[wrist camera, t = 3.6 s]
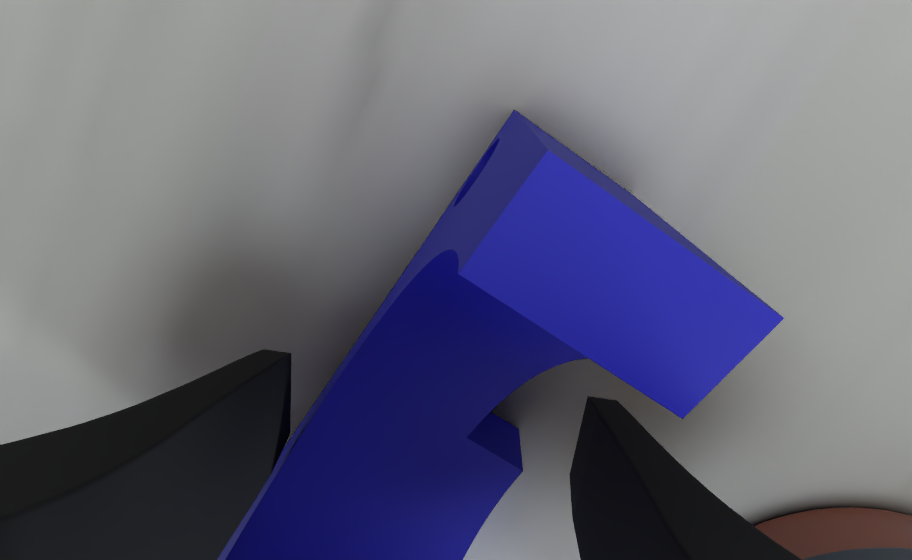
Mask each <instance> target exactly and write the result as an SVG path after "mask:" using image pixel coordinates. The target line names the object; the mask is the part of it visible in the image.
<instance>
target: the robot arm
mask: <svg viewBox="0 0 912 560" xmlns="http://www.w3.org/2000/svg"><path fill="white" fill-rule="evenodd" d="M290 411H291V353H286V352H279V351H272V350H265V349H264V350H261V351H258V352H255V353H253V354H251V355H248V356H246V357H244V358H241V359H239V360H237V361H235V362H233V363H231V364H228V365H226V366H224V367H222V368H220V369H218V370H216V371H213V372H211V373H209V374H207V375H205V376H203V377H201V378H198V379H196V380H194V381H192V382H190V383H187V384H185V385H183V386H180V387H178V388H176V389H173V390H171V391H168V392H166V393H164V394H161V395H159V396H156V397H154V398H152V399H149V400H147V401H144V402H142V403H140V404H137V405H134V406H132V407H129V408H126V409H124V410H121V411H118V412H115V413H112V414H109V415H106V416H103V417H100V418H97V419H94V420H91V421H88V422H85V423H82V424H78V425H75V426H72V427H68V428H64V429H61V430H57V431H53V432H49V433H45V434H42V435H38V436H34V437H30V438H26V439H23V440H19V441H15V442H11V443H7V444H2V445H0V560H217V559H218V558H219V556H220V554H221V553H222V551H223V550H224V548H225V547H226V545H227V543H228V542H229V540H230V539H231V537H232V535H233V534H234V532H235V531H236V529H237V528H238V526H239V524H240V523H241V521H242V520H243V518H244V517H245V515H246V513H247V512H248V510H249V509H250V507H251V506H252V504H253V502H254V501H255V499H256V498H257V496H258V494H259V493H260V491H261V490H262V488H263V486H264V485H265V483H266V482H267V480H268V478H269V477H270V475H271V473H272V472H273V469H274V467H275V465H276V463H277V461H278V459H279V457H280V455H281V452H282V450H283V448H284V446H285V443H286V441H287V439H288V436H289V434H290ZM570 487H571V503H572V515H573V522H574V528H575V533H576V538H577V543H578V548H579V553H580V558H581V560H802V559H800V558H799V557H797V556H796V555H794V554H793V553H791V552H790V551H788V550H787V549H785V548H784V547H782V546H781V545H779V544H778V543H776V542H775V541H774V540H772V539H771V538H769V537H768V536H766V535H765V534H764V533H762V532H761V531H760V530H758V529H757V528H756V527H754V526H753V525H752V524H750V523H749V522H748V521H746V520H745V519H744V518H743V517H741V516H740V515H739V514H737V513H736V512H735V511H733V510H732V509H731V508H729V507H728V506H727V505H726V504H725V503H723V502H722V501H721V500H720V499H718V498H717V497H716V496H715V495H714V494H713V493H711V492H710V491H709V490H708V489H707V488H706V487H705V486H704V485H702V484H701V483H700V482H699V481H698V480H697V479H696V478H695V477H693V476H692V475H691V474H690V473H689V472H688V471H687V470H686V469H685V468H684V467H683V466H682V465H680V464H679V463H678V462H677V461H676V460H675V459H674V458H673V457H672V456H671V455H670V454H669V453H668V452H667V451H666V450H665V449H664V448H663V447H662V446H661V445H660V444H659V443H658V442H657V441H656V440H655V439H654V438H653V437H652V436H651V435H650V434H649V433H648V432H647V431H646V430H645V428H644V427H643V426H642V425H641V424H640V423H639V422H638V421H637V420H636V419H635V418H634V417H633V416H632V415H631V414H630V413H629V412H628V411H627V410H626V409H625V408H624V407H623V406H622V405H621V404H620V403H619V402H618V401H616V400H609V399H602V398H595V397H589V396H588V398H587V402H586V406H585V411H584V415H583V419H582V424H581V428H580V432H579V437H578V441H577V445H576V450H575V454H574V458H573V463H572V467H571V472H570Z"/></svg>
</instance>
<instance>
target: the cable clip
mask: <svg viewBox="0 0 912 560" xmlns="http://www.w3.org/2000/svg"><path fill="white" fill-rule="evenodd" d="M783 319H784V318H783V317H782V316H781V315H779V314H778V313H777V312H776V311H775V310H773V309H772V308H771V307H770V306H768V305H767V304H766V303H765V302H763V301H762V300H761V299H760V298H759V297H757V296H756V295H755V294H754V293H752V292H751V291H750V290H749V289H748V288H746V287H745V286H744V285H743V284H741V283H740V282H739V281H738V280H736V279H735V278H734V277H733V276H732V275H730V274H729V273H728V272H727V271H725V270H724V269H723V268H722V267H721V266H719V265H718V264H717V263H716V262H714V261H713V260H712V259H711V258H709V257H708V256H707V255H706V254H705V253H703V252H702V251H701V250H700V249H698V248H697V247H696V246H695V245H694V244H692V243H691V242H690V241H689V240H687V239H686V238H685V237H684V236H682V235H681V234H680V233H679V232H678V231H676V230H675V229H674V228H673V227H671V226H670V225H669V224H668V223H667V222H665V221H664V220H663V219H662V218H660V217H659V216H658V215H657V214H655V213H654V212H653V211H652V210H651V209H649V208H648V207H647V206H646V205H644V204H643V203H642V202H641V201H640V200H638V199H637V198H636V197H635V196H633V195H632V194H631V193H629V192H628V191H627V190H625V189H624V188H622V187H621V186H620V185H618V184H617V183H615V182H614V181H613V180H611V179H610V178H608V177H607V176H606V175H604V174H603V173H602V172H600V171H599V170H597V169H596V168H595V167H593V166H592V165H590V164H589V163H588V162H586V161H585V160H583V159H582V158H581V157H579V156H578V155H577V154H575V153H574V152H572V151H571V150H570V149H568V148H567V147H565V146H564V145H563V144H561V143H560V142H558V141H557V140H556V139H554V138H553V137H552V136H550V135H549V134H547V133H546V132H545V131H543V130H542V129H540V128H539V127H538V126H536V125H535V124H533V123H532V122H531V121H529V120H528V119H527V118H525V117H524V116H522V115H521V114H520V113H518V112H517V111H515V110H514V111H513V112H512V114H511V115H510V117H509V118H508V120H507V121H506V122H505V124H504V125H503V127H502V128H501V130H500V131H499V133H498V134H497V136H496V137H495V139H494V140H493V142H492V143H491V144H490V146H489V147H488V149H487V150H486V152H485V153H484V155H483V156H482V158H481V159H480V161H479V162H478V164H477V165H476V167H475V168H474V169H473V171H472V172H471V174H470V175H469V177H468V178H467V180H466V181H465V183H464V184H463V186H462V187H461V189H460V190H459V191H458V193H457V194H456V196H455V197H454V199H453V200H452V202H451V203H450V205H449V206H448V208H447V209H446V211H445V212H444V214H443V215H442V216H441V218H440V219H439V221H438V222H437V224H436V225H435V227H434V228H433V230H432V231H431V233H430V234H429V236H428V237H427V239H426V240H425V241H424V243H423V244H422V246H421V247H420V249H419V250H418V252H417V253H416V255H415V256H414V258H413V259H412V261H411V262H410V263H409V265H408V266H407V268H406V269H405V271H404V272H403V274H402V275H401V277H400V278H399V280H398V281H397V283H396V284H395V286H394V287H393V288H392V290H391V291H390V293H389V294H388V296H387V297H386V299H385V300H384V302H383V303H382V305H381V306H380V308H379V309H378V310H377V312H376V313H375V315H374V316H373V318H372V319H371V321H370V322H369V324H368V325H367V327H366V328H365V330H364V331H363V333H362V334H361V335H360V337H359V338H358V340H357V341H356V343H355V344H354V346H353V347H352V349H351V350H350V352H349V353H348V355H347V356H346V358H345V359H344V360H343V362H342V363H341V365H340V366H339V368H338V369H337V371H336V372H335V374H334V375H333V377H332V378H331V380H330V381H329V382H328V384H327V385H326V387H325V388H324V390H323V391H322V393H321V394H320V396H319V397H318V399H317V400H316V402H315V403H314V405H313V406H312V407H311V409H310V410H309V412H308V413H307V415H306V416H305V418H304V419H303V421H302V422H301V424H300V425H299V427H298V428H297V429H296V431H295V432H294V434H293V435H292V437H291V438H290V440H289V441H288V443H287V444H286V446H285V447H284V449H283V450H282V452H281V455H280V457H279V459H278V461H277V463H276V465H275V467H274V469H273V472H272V473H271V475H270V477H269V478H268V480H267V482H266V483H265V485H264V486H263V488H262V490H261V491H260V493H259V494H258V496H257V498H256V499H255V501H254V502H253V504H252V506H251V507H250V509H249V510H248V512H247V513H246V515H245V517H244V518H243V520H242V521H241V523H240V524H239V526H238V528H237V529H236V531H235V532H234V534H233V535H232V537H231V539H230V540H229V542H228V543H227V545H226V547H225V548H224V550H223V551H222V553H221V554H220V556H219V558H218V559H217V560H463V558H464V556H465V554H466V552H467V550H468V548H469V547H470V545H471V543H472V542H473V540H474V538H475V536H476V535H477V533H478V531H479V530H480V528H481V526H482V525H483V523H484V522H485V520H486V519H487V517H488V516H489V514H490V513H491V511H492V510H493V508H494V507H495V506H496V504H497V503H498V501H499V500H500V499H501V497H502V496H503V494H504V493H505V492H506V491H507V489H508V488H509V487H510V486H511V484H512V483H513V482H514V481H515V480H516V478H517V477H518V476H519V475H520V474H521V473H522V472H523V467H522V456H521V446H520V436H519V429H518V428H516V427H514V426H513V425H511V424H509V423H508V422H506V421H504V420H503V419H501V418H500V417H498V416H496V415H495V414H493V413H491V411H492V410H493V409H494V408H495V407H496V406H497V405H498V404H499V403H500V402H501V401H502V400H504V399H505V398H506V397H507V396H508V395H509V394H511V393H512V392H513V391H514V390H516V389H517V388H518V387H520V386H521V385H523V384H524V383H525V382H527V381H528V380H530V379H532V378H533V377H535V376H537V375H538V374H540V373H542V372H544V371H546V370H548V369H550V368H552V367H554V366H557V365H560V364H563V363H566V362H569V361H573V360H579V359H585V358H589V359H591V360H592V361H594V362H595V363H597V364H598V365H600V366H602V367H603V368H605V369H606V370H608V371H609V372H611V373H612V374H614V375H615V376H617V377H619V378H620V379H622V380H623V381H625V382H626V383H628V384H629V385H631V386H632V387H634V388H636V389H637V390H639V391H640V392H642V393H643V394H645V395H646V396H648V397H649V398H651V399H653V400H654V401H656V402H657V403H659V404H660V405H662V406H663V407H665V408H666V409H668V410H670V411H671V412H673V413H674V414H676V415H677V416H679V417H680V418H682V419H683V418H684V417H685V416H686V415H687V414H688V413H689V412H690V411H691V410H692V409H693V408H694V407H695V406H696V405H697V404H698V403H699V402H700V401H701V400H702V399H703V398H704V397H705V396H706V395H707V394H708V393H709V392H710V391H711V390H712V389H713V388H714V387H715V386H716V385H717V384H718V383H719V382H720V381H721V380H722V379H723V378H724V377H725V376H726V375H727V374H728V373H729V372H730V371H731V370H732V369H733V368H734V367H735V366H736V365H737V364H738V363H739V362H740V361H741V360H742V359H743V358H744V357H745V356H746V355H747V354H748V353H749V352H750V351H751V350H752V349H753V348H754V347H756V346H757V345H758V344H759V343H760V342H761V341H762V340H763V339H764V338H765V337H766V336H767V335H768V334H769V333H770V332H771V331H772V330H773V329H774V328H775V327H776V326H777V325H778V324H779V323H780V322H781V321H782V320H783Z"/></svg>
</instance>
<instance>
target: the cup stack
mask: <svg viewBox="0 0 912 560" xmlns="http://www.w3.org/2000/svg"><path fill="white" fill-rule="evenodd" d="M754 527H756V528H757V529H758V530H760V531H761V532H762V533H764V534H765V535H766V536H768V537H769V538H771V539H772V540H774V541H775V542H776V543H778V544H779V545H781V546H782V547H784V548H785V549H787V550H788V551H790V552H791V553H793V554H794V555H796V556H797V557H799V558H800V559H802V560H912V516H911V515H908V514H903V513H898V512H893V511H888V510H882V509H872V508H862V507H836V508H826V509H816V510H808V511H803V512H798V513H793V514H788V515H785V516H781V517H778V518H775V519H771V520H768V521H765V522H762V523H760V524H757V525H755V526H754Z"/></svg>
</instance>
